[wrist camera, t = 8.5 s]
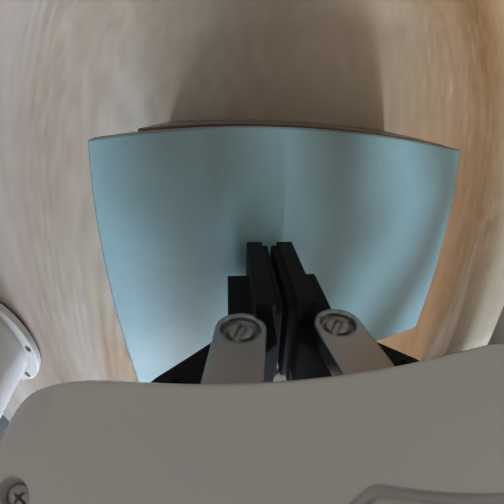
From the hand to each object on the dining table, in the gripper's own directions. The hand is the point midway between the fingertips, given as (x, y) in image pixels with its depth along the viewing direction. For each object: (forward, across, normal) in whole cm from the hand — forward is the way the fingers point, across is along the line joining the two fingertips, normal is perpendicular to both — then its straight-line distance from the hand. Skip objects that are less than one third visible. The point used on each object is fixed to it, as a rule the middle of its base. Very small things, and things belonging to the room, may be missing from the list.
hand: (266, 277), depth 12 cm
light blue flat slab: (+2, -2, 0) cm, 3 cm away
